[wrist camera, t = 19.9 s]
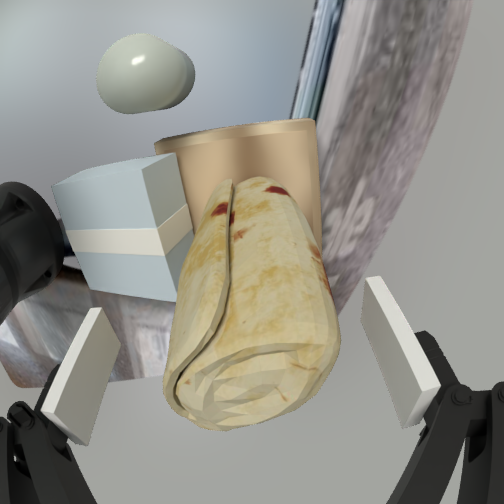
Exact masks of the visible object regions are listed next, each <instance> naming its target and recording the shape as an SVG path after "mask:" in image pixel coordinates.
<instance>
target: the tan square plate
mask: <svg viewBox="0 0 504 504" xmlns="http://www.w3.org/2000/svg"><path fill="white" fill-rule="evenodd" d="M154 145H155V150H156V155H161V154H168V153H174V152H175V153H176V157H177V162H178V167H179V172H180V176H181V181H182V186H183V190H184V195H185V199H186V204H187V205H188V209H189V213H190V218H191V222H192V226H193V228H192V229H193V234H194V237H195V234H196V231H197V229H198V226H199V223H200V220H201V218H202V214H203V211H204V208H205V206H206V204H207V202H208V200H209V198H210V196H211V194H212V193H213V191H214V190H215V188H216V187H217V186H218V185H219V184H220V183H222V182H223V181H225V180H226V179H232V182H233V184H234V186H236V185H237V184H239V183H241V182H243V181H245V180H248V179H250V178H254V177H259V176H261V177H266V178H271V179H273V180H275V181H277V182H278V183H280V184H282V185H283V186H284V187H285V188H286V189H287V190H288V191H289V193H290V194H291V195H292V197H293V198H294V199H295V201H296V203H297V204H298V206H299V208H300V209H301V211H302V213H303V214H304V216H305V218H306V220H307V222H308V224H309V226H310V228H311V230H312V233H313V235H314V238H315V240H316V243H317V245H318V248H319V250H320V253H321V256H322V228H321V202H320V183H319V166H318V152H317V139H316V127H315V121H314V120H312V119H310V118H301V119H288V120H278V121H268V122H259V123H251V124H244V125H236V126H229V127H222V128H216V129H210V130H204V131H198V132H193V133H187V134H182V135H177V136H172V137H167V138H163V139H161V140H159V141H157V142H156V143H154Z"/></svg>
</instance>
